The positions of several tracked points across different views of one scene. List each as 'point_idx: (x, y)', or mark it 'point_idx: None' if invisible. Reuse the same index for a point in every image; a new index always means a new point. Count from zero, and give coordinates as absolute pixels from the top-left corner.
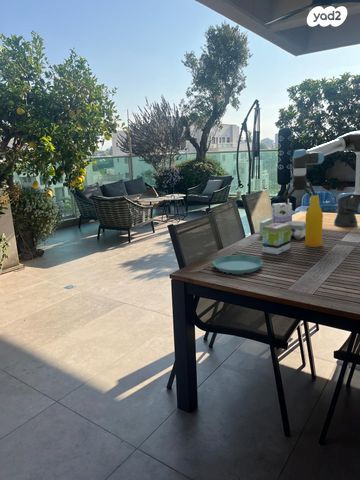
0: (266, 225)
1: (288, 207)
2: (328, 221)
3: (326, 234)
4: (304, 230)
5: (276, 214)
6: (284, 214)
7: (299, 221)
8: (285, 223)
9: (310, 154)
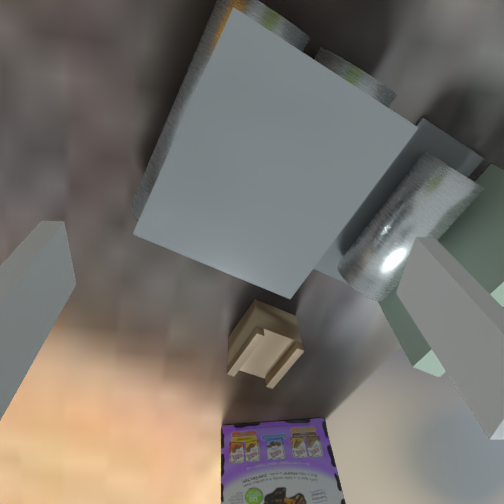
0: (501, 240)
1: (440, 255)
2: (16, 475)
3: (13, 181)
4: (195, 80)
5: (322, 487)
6: (270, 488)
7: (216, 261)
8: (371, 188)
9: None
